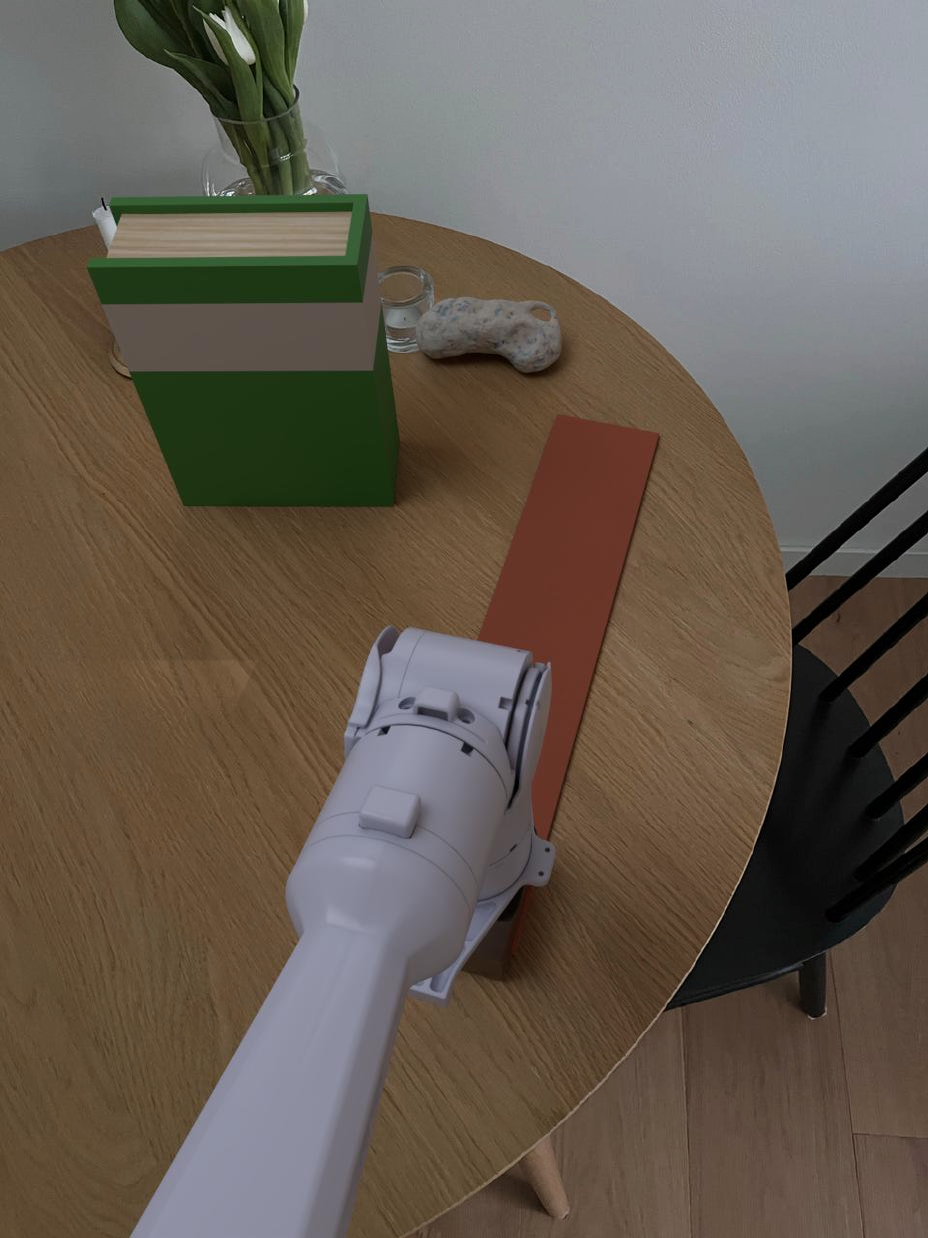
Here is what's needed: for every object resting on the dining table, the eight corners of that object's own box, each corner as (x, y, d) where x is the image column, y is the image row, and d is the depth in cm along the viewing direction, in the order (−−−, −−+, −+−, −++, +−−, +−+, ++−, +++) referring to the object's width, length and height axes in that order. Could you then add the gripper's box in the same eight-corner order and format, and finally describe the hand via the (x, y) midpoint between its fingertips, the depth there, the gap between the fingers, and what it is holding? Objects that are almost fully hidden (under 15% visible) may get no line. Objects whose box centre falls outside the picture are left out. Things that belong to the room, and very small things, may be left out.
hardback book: (183, 505, 89) (86, 267, 69) (199, 440, 93) (111, 197, 73) (393, 506, 88) (357, 264, 68) (399, 440, 92) (367, 193, 72)
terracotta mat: (515, 956, 67) (515, 954, 66) (380, 916, 68) (380, 914, 68) (659, 436, 91) (659, 432, 90) (556, 416, 92) (557, 413, 92)
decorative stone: (414, 381, 96) (409, 338, 91) (417, 331, 99) (413, 286, 95) (562, 379, 95) (564, 335, 91) (559, 328, 99) (561, 283, 94)
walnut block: (501, 961, 62) (537, 837, 66) (430, 940, 63) (469, 818, 67) (502, 982, 66) (535, 862, 70) (434, 961, 66) (471, 845, 71)
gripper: (509, 997, 42) (513, 1056, 54) (593, 688, 50) (580, 798, 61) (345, 948, 44) (383, 1015, 55) (449, 653, 51) (463, 768, 62)
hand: (478, 899), depth 58 cm, fingers closed
